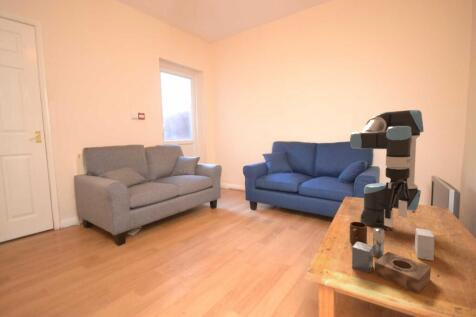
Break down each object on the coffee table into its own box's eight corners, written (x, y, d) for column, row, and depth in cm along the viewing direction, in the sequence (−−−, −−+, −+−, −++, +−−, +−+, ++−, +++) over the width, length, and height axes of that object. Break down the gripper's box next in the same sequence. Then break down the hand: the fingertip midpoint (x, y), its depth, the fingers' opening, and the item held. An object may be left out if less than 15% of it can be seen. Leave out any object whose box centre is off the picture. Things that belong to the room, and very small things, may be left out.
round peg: (371, 255, 102) (371, 229, 100) (375, 252, 104) (376, 227, 103) (381, 259, 99) (381, 232, 97) (385, 255, 101) (385, 229, 100)
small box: (433, 261, 95) (435, 237, 94) (416, 258, 98) (417, 234, 97) (430, 252, 102) (431, 230, 101) (414, 249, 105) (415, 227, 104)
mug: (362, 251, 105) (362, 232, 104) (344, 246, 110) (345, 228, 109) (368, 241, 114) (368, 223, 113) (352, 237, 119) (352, 220, 118)
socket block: (374, 274, 89) (374, 261, 88) (387, 262, 96) (388, 251, 95) (418, 293, 77) (418, 279, 77) (430, 279, 84) (430, 266, 84)
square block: (352, 267, 93) (352, 246, 92) (356, 261, 98) (357, 241, 97) (368, 273, 89) (368, 251, 88) (372, 266, 93) (373, 246, 92)
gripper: (395, 173, 76) (393, 234, 79) (420, 163, 91) (418, 215, 93) (371, 171, 82) (370, 227, 85) (398, 162, 97) (397, 210, 99)
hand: (395, 221), depth 89 cm, fingers open, 13 cm apart
